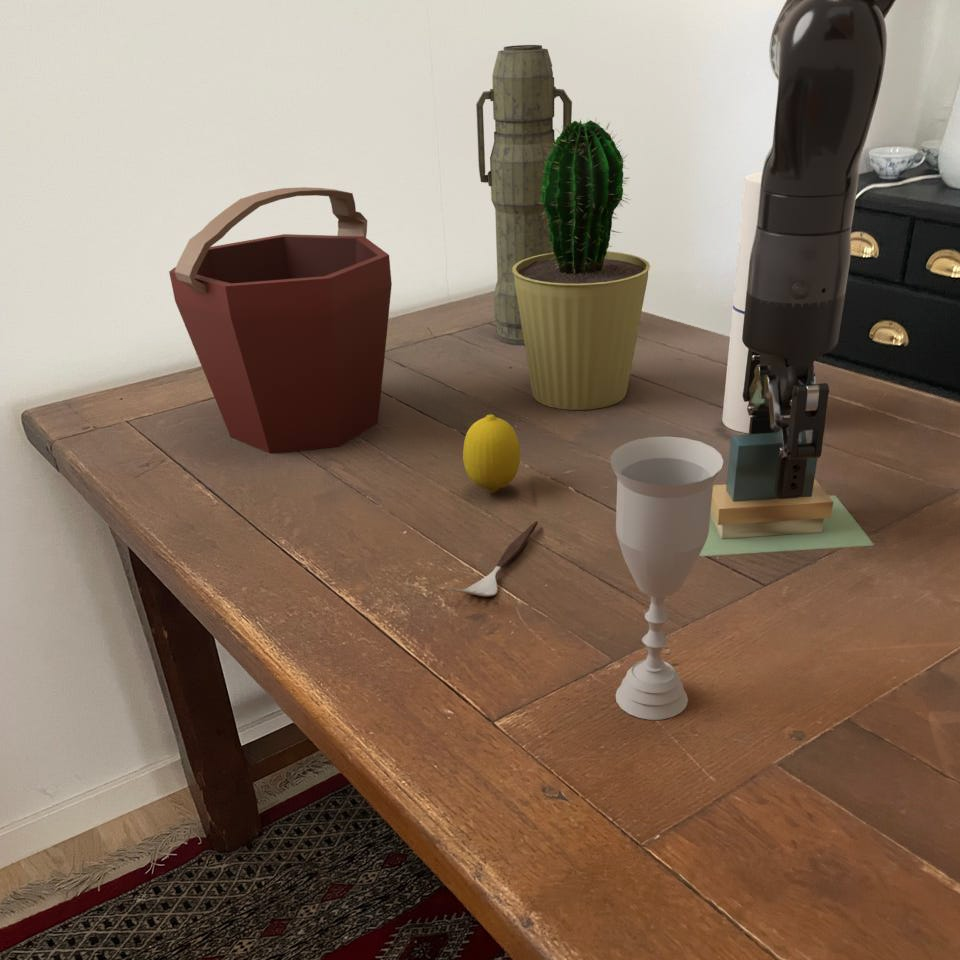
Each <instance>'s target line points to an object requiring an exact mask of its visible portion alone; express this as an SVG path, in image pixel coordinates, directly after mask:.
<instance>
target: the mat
mask: <svg viewBox="0 0 960 960" xmlns="http://www.w3.org/2000/svg"><path fill="white" fill-rule="evenodd" d="M829 497H830V498H831V499H832V501H833V507H832V513H831V518H824V522H823V528H822V532H821V533H805V534H789V535H773V536H758V537H742V538H726V539H721V537H720V535H719V534H718V532H717V530H716V528H715V526H714V524H713V522H712V520H711V519H710V525H709V534H708V537H707V540H706V542H705V544H704V547H703V549H702V551H701V553H700V555H699V557H715V556H728V555H729V556H733V555H747V554H763V553H764V554H765V553H779V552H795V551H796V552H797V551H809V550H810V551H811V550H826V549H842V548H857V547H859V548H860V547H874V546H875V543H874V542H873V541H872V540H871V539H870V537H869V536H868V535H867V533H866V532H865V531H864V529H863V528H862V527H861V526H860V525H859V523H858V522H857V521H856V520H855V518H854V517H853V516H852V515H851V513H850V511H848V509H847V508H846V507H845V506H844V504H842V502H841V501H840V499H839V498H838V497H837V495H835V494H833V495H832V494H831V495H829ZM699 557H698V558H699Z"/></svg>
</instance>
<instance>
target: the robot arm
mask: <svg viewBox="0 0 960 960" xmlns="http://www.w3.org/2000/svg"><path fill="white" fill-rule="evenodd" d="M896 1H897V0H785V3H784V4H783V6H782V8H781V9H780V10H781V11H780V12H779V14H778V17H776V18H777V19H776V21H775V23H774V25H773V28H772V32H771V35H770V40H769V48H768V54H769V56H768V57H769V64H770V68H771V70H772V73H773V75H774V77H775V78H776V80H777V96H776V98H777V99H776V106H775V116H774V126H773V136H772V145H771V147H770V149H768V152H767V154H766V156H765V158H764V162H763V166H762V170H761V172H762V177H761V184H760V194H759V205H758V215H757V226H756V231H755V236H754V241H753V245H752V249H751V254H750V261H749V271H748V282H747V292H746V303H745V313H744V323H743V334H742V341H743V343H744V345H745V346H746V347H747V348H748V356H747V365H746V373H745V382H744V390H743V399H744V402H749V403H748V407H747V411H748V414H749V416H752V417H750V426H749V433H748V434H762V433H777V436H778V447H779V450H778V452H779V456H778V464H777V472H776V480H775V488H774V493H775V494H776V496H777V497H778V498H779V499H788V498H798V497H800V496H801V495H802V493H803V487H804V480H805V473H806V465H807V458H817V459H818V458H821V456H822V451H823V443H824V437H825V435H824V434H825V427H826V419H827V410H828V402H829V395H830V388H829V384H828V383H827V382H822V383H820V382H819V383H817V375H816V372H815V364H814V363H815V360H817V359H818V358H819V357H820V356H822V355H824V354H825V355H826V354H828V353H830V352H831V351H833V350H834V349H835V348H836V347H837V345H838V343H839V338H840V331H841V324H842V318H843V311H844V305H845V298H846V292H847V284H848V278H849V271H850V265H851V252H852V243H851V242H852V229H853V227H852V225H853V220H854V214H855V206H856V201H857V192H858V185H859V177H860V165H861V164H860V163H861V158H862V154H863V150H864V148H865V146H866V145H865V144H866V141H867V138H868V134H869V131H870V128H871V124H872V120H873V117H874V114H875V109H876V106H877V102H878V99H879V94H880V90H881V87H882V82H883V77H884V73H885V72H884V71H885V65H886V57H887V46H888V45H887V44H888V43H887V42H888V35H887V34H888V33H887V26H886V21H885V19H886V17H887V16H888V14H889V13H890V10H891V9H892V7H893V6H894V4H895V2H896ZM788 415H790V417H789V418H785V417H783V416H788ZM800 432H801V439H802V442H798V440H799V433H800ZM812 432H813V433H812Z"/></svg>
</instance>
